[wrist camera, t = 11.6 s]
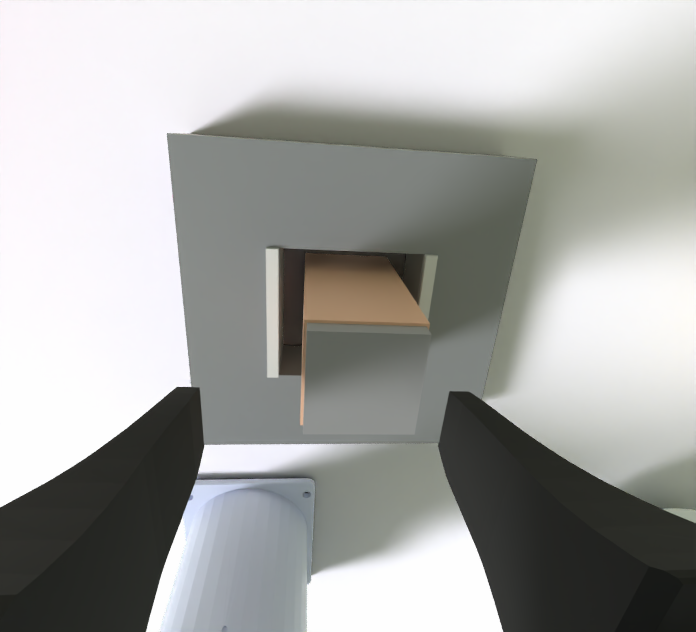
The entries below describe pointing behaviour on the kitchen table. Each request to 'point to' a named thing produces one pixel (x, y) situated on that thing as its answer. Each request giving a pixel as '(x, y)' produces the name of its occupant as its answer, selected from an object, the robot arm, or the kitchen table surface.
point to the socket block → (340, 235)
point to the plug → (360, 348)
